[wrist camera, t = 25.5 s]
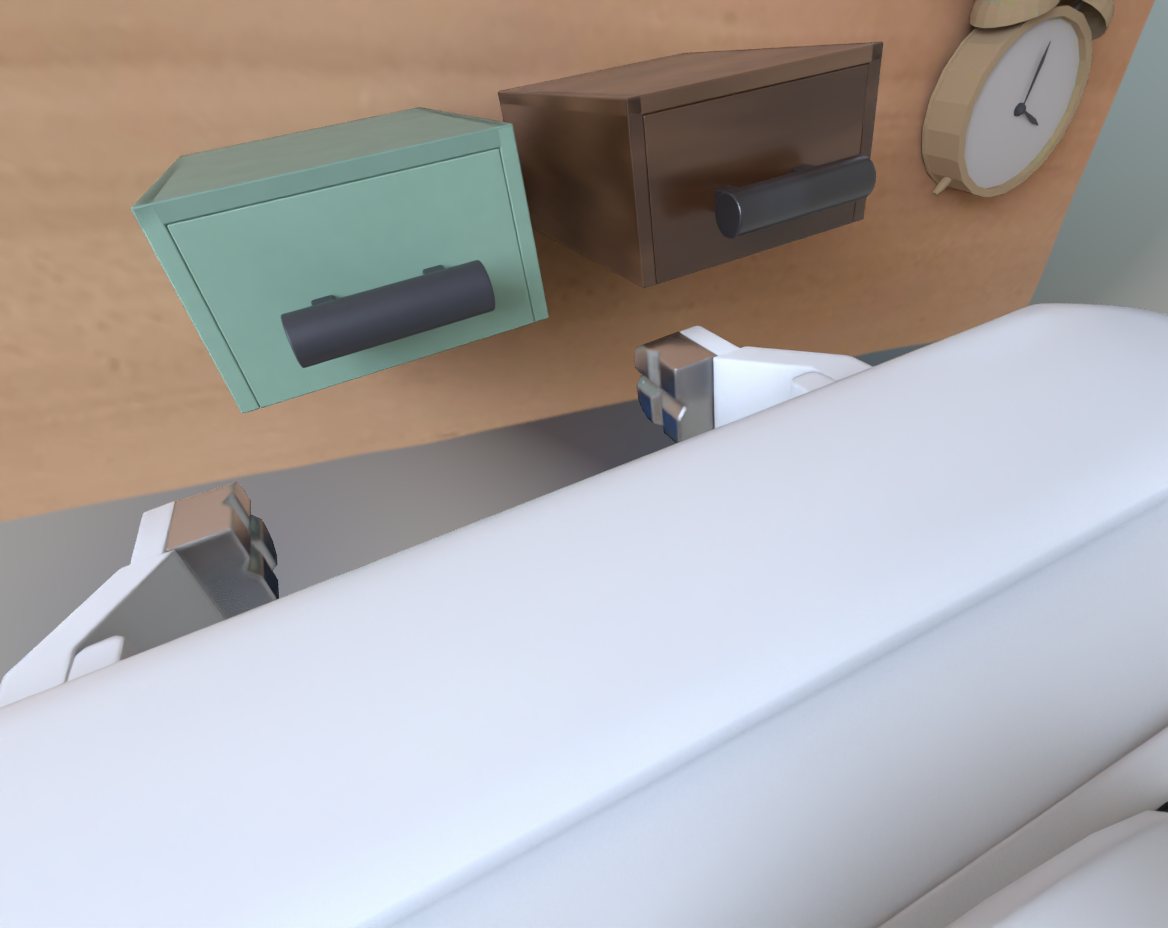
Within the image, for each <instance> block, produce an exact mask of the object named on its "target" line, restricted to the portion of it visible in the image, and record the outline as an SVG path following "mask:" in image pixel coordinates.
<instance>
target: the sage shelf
mask: <svg viewBox="0 0 1168 928" xmlns="http://www.w3.org/2000/svg"><path fill="white" fill-rule="evenodd" d="M131 210H132V212H133V214H134V216H135V218H136V219H137V221H138V223H139V225H140V227H141V228H142V230H143V232H144V234H145V236H146V238H147V239H148V241H149V243H150V245H151V247H152V249H153V250H154V252H155V254H156V256H157V258H158V260H159V262H160V263H161V265H162V267H163V269H164V271H165V273H166V274H167V276H168V278H169V280H170V282H171V284H172V286H173V287H174V289H175V291H176V293H177V295H178V297H179V298H180V300H181V302H182V304H183V306H184V308H185V309H186V311H187V313H188V315H189V317H190V319H191V321H192V322H193V324H194V326H195V328H196V330H197V332H198V333H199V335H200V337H201V339H202V341H203V343H204V345H205V346H206V348H207V350H208V352H209V354H210V356H211V357H212V359H213V361H214V363H215V365H216V367H217V368H218V370H219V372H220V374H221V376H222V378H223V380H224V381H225V383H226V385H227V387H228V389H229V391H230V392H231V394H232V396H233V398H234V400H235V402H236V404H237V405H238V407H239V409H240V411H241V412H242V413H247V412H250V411H253V410H256V409H259V408H260V407H261V408H263V407H266V406H270V405H273V404H276V403H279V402H282V401H286V400H289V399H292V398H295V397H298V396H302V395H305V394H308V393H311V392H314V391H317V390H321V389H324V388H327V387H330V386H333V385H337V384H340V383H343V382H346V381H349V380H352V379H356V378H359V377H362V376H365V375H368V374H372V373H375V372H378V371H381V370H384V369H388V368H391V367H394V366H397V365H400V364H403V363H407V362H410V361H413V360H416V359H419V358H423V357H426V356H429V355H432V354H435V353H439V352H442V351H445V350H448V349H451V348H454V347H458V346H461V345H464V344H467V343H470V342H474V341H477V340H480V339H483V338H486V337H489V336H493V335H496V334H499V333H502V332H505V331H509V330H512V329H515V328H518V327H521V326H525V325H528V324H531V323H534V321H535V322H537V321H540V320H543V319H546V318H548V317H549V315H548V309H547V304H546V299H545V293H544V288H543V283H542V277H541V272H540V267H539V261H538V256H537V251H536V245H535V240H534V235H533V229H532V224H531V219H530V214H529V208H528V203H527V198H526V192H525V187H524V182H523V176H522V171H521V166H520V160H519V155H518V150H517V144H516V138H515V133H514V128H513V124H512V123H506V122H501V121H495V120H489V119H483V118H478V117H472V116H466V115H461V114H455V113H449V112H443V111H438V110H432V109H426V108H420V107H419V108H414V109H409V110H404V111H399V112H394V113H390V114H385V115H380V116H375V117H370V118H365V119H360V120H355V121H351V122H346V123H341V124H336V125H331V126H326V127H321V128H316V129H311V130H307V131H302V132H297V133H292V134H287V135H282V136H277V137H272V138H268V139H263V140H258V141H253V142H248V143H243V144H238V145H233V146H228V147H224V148H219V149H214V150H209V151H204V152H199V153H194V154H189V155H185V156H180V157H179V158H178V159H177V160H176V161H175V162H174V163H173V164H172V165H171V166H170V168H169V169H168V170H167V171H166V172H165V173H164V174H163V175H162V176H161V177H160V178H159V179H158V180H157V181H156V182H155V183H154V184H153V185H152V186H151V187H150V188H149V190H148V191H147V192H146V193H145V194H144V195H143V196H142V197H141V198H140V199H139V200H138V201H137V202H136V203H135V204H134V205H133V206H132V207H131Z"/></svg>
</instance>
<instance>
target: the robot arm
mask: <svg viewBox="0 0 1168 928" xmlns="http://www.w3.org/2000/svg"><path fill="white" fill-rule="evenodd" d="M634 364H635V368H636V369H637V370H638V371H639V372H640V373H641V374H642V375H641V377H640V380H639V382H638V384H637V392H638V399H639V402H640V405H641V407H642V410H643V412H644V413H645V415H646V416H647V418H648V419H649V420H651V421H652V422H653V423H655V424H660V425H663V427H664V433H665V434H666V435H667V436H669V437H670V438H671V439H672V440H673V441H674V442H675V443H677V444H674V445H672V446H669V447H666V448H664V449H662V450H659V451H656V452H654V453H651V454H649V455H646V456H643V457H641V458H638V459H636V460H633V461H631V462H628V463H626V464H623V465H620V466H618V467H615V468H613V469H610V470H608V471H605V472H603V473H600V474H597V475H595V476H592V477H590V478H587V479H585V480H582V481H580V482H577V483H574V484H572V485H569V486H567V487H564V488H562V489H559V490H557V491H554V492H551V493H549V494H546V495H544V496H541V497H539V498H536V499H534V500H531V501H528V502H526V503H523V504H521V505H518V506H516V507H513V508H510V509H508V510H505V511H503V512H500V513H498V514H495V515H492V516H490V517H487V518H485V519H482V520H479V521H477V522H474V523H472V524H469V525H467V526H464V527H462V528H459V529H457V530H454V531H451V532H449V533H446V534H444V535H441V536H438V537H436V538H434V539H431V540H428V541H426V542H423V543H420V544H418V545H415V546H413V547H410V548H408V549H405V550H403V551H400V552H397V553H395V554H392V555H390V556H387V557H385V558H382V559H380V560H377V561H374V562H372V563H369V564H367V565H364V566H361V567H359V568H356V569H354V570H351V571H349V572H346V573H344V574H341V575H338V576H336V577H333V578H331V579H328V580H326V581H323V582H320V583H318V584H316V585H313V586H310V587H308V588H305V589H303V590H300V591H297V592H295V593H292V594H290V595H287V596H284V597H282V598H279V592H278V580H277V578H276V576H275V574H274V573H273V570H274V569H275V567H276V566H277V554H276V551H275V548H274V544H273V541H272V539H271V537H270V534H269V532H268V530H267V528H266V526H265V524H264V522H263V521H262V519H260V518H258V517H256V516H253V515H251V500H250V499H249V497H248V496H247V494H246V492H245V491H244V489H243V488H242V486H240V485H239V484H238V483H237V482H234V483H231V484H228V485H225V486H222V487H219V488H216V489H212V490H209V491H206V492H203V493H200V494H197V495H194V496H190V497H187V498H185V499H181V500H178V501H173V502H170V503H168V504H165V505H162V506H159V507H157V508H154V509H151V510H149V511H146V512H144V513H143V516H142V520H141V524H140V528H139V531H138V536H137V539H136V543H135V547H134V551H133V555H132V559H131V563H130V565H129V566H126V567H123V568H120V569H119V570H118V571H117V572H116V573H115V574H114V575H113V576H112V577H111V578H110V579H108V580H107V581H106V582H105V583H104V584H103V585H102V586H101V587H100V588H99V589H98V590H97V591H95V592H94V593H93V594H92V595H91V596H90V597H89V598H88V599H87V600H86V601H85V602H84V603H82V604H81V605H80V606H79V607H78V608H77V609H76V610H75V611H74V612H73V613H72V614H71V615H69V616H68V617H67V618H66V619H65V620H64V621H63V622H62V623H61V624H60V625H59V626H58V627H57V628H55V629H54V630H53V631H52V632H51V633H50V634H49V635H48V636H47V637H46V638H45V639H44V640H42V642H40V643H39V644H38V645H37V646H36V647H35V648H34V649H33V650H32V651H31V652H30V653H28V654H27V655H26V656H25V657H24V658H23V659H22V660H21V661H20V662H19V663H18V664H16V665H15V666H14V667H13V668H12V669H11V670H10V671H9V672H8V673H7V674H6V675H5V676H4V678H3V681H2V683H1V685H0V928H1168V315H1167V314H1163V313H1159V312H1155V311H1151V310H1146V309H1140V308H1132V307H1124V306H1113V305H1097V304H1069V303H1067V304H1066V303H1046V304H1045V303H1044V304H1036V305H1031V306H1027V307H1024V308H1021V309H1018V310H1016V311H1013V312H1011V313H1008V314H1006V315H1003V316H1001V317H998V318H996V319H994V320H991V321H989V322H986V323H984V324H981V325H979V326H976V327H973V328H971V329H968V330H966V331H963V332H961V333H958V334H956V335H953V336H950V337H948V338H945V339H943V340H940V341H938V342H935V343H932V344H930V345H927V346H925V347H922V348H920V349H917V350H914V351H912V352H909V353H907V354H904V355H902V356H899V357H897V358H894V359H891V360H889V361H886V362H884V363H881V364H879V365H876V366H874V367H873V366H871V365H869V364H867V363H864V362H862V361H860V360H858V359H856V358H854V357H852V356H850V355H840V354H828V353H817V352H806V351H794V350H783V349H771V348H760V347H749V346H745V347H742V348H738V347H737V346H735V345H733V344H731V343H730V342H728V341H726V340H724V339H723V338H721V337H719V336H717V335H715V334H714V333H712V332H710V331H708V330H707V329H705V328H703V327H701V326H693V327H690V328H688V329H685V330H683V331H680V332H676V333H674V334H671V335H668V336H665V337H663V338H660V339H657V340H654V341H652V342H649V343H646V344H644V345H641V346H639V347H637V348H635V352H634Z"/></svg>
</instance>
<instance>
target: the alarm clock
mask: <svg viewBox="0 0 1168 928" xmlns="http://www.w3.org/2000/svg"><path fill="white" fill-rule="evenodd" d="M1113 13H1114V4H1113V0H976V1H975V3H974V5H973V7H972V10H971V13H970V24H971V25H972V26H974V27H976V28H975V29H974V30H973V31H972V32H971V33H970V34H969V35H968V36H967V37H966V38H965V39H964V40H963V41H962V42H961V43H960V45H959V47H958V48H957V50H956V51H955V53H954V54H953V56H952V57H951V59H950V60H949V62H948V63H947V65H946V66H945V68H944V69H943V71H942V73H941V76H940V78H939V80H938V82H937V85H936V87H935V89H934V91H933V94H932V96H931V98H930V101H929V105H928V109H927V113H926V117H925V121H924V125H923V135H922V156H923V159H924V163H925V166H926V170H927V173H928V174H929V175H930V176H931V178H932V179H933V180H934V181H935V182H936V183H937V184H938V185H937V186H936V188H935V189H934V191H933V194H934V195H936V196H937V195H938V194H939V193H941V192H942V191H943V190H944V189H945V188H946V187H949V188H952V189H960V190H963V191H967V192H969V193H971V194H975V195H979V196H983V197H986V198H989V197H993V196H997V195H1002V194H1005V193H1007V192H1008V191H1010V190H1011V189H1013V188H1015V187H1016V186H1018V185H1020V184H1021V183H1023V182H1024V181H1025V180H1026V179H1027V178H1028V177H1029V176H1031V175H1032V174H1033V173H1034V172H1035V171H1036V170H1037V169H1038V168H1039V167H1040V166H1041V165H1042V164H1043V163H1044V162H1045V160H1046V159H1047V158H1048V156H1049V155H1050V154H1051V152H1052V151H1053V150H1054V148H1055V147H1056V146H1057V144H1058V143H1059V142H1060V140H1061V139H1062V137H1063V135H1064V133H1065V132H1066V130H1067V128H1068V126H1069V124H1070V123H1071V121H1072V119H1073V117H1074V115H1075V114H1076V112H1077V109H1078V106H1079V104H1080V101H1081V98H1082V96H1083V93H1084V90H1085V88H1086V85H1087V81H1088V76H1089V71H1090V66H1091V61H1092V40H1094V39H1097V38H1099V37H1100V36H1101V35H1103V34H1104V33H1105V31H1106V30H1107V28H1108V26H1109V24H1110V22H1111V19H1112V17H1113Z"/></svg>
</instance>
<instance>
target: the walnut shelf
mask: <svg viewBox="0 0 1168 928" xmlns="http://www.w3.org/2000/svg"><path fill="white" fill-rule="evenodd" d="M882 49H883V43H882V42H871V43H853V44H836V45H818V46H801V47H783V48H766V49H748V50H731V51H713V52H696V53H682V54H678V55H673V56H668V57H663V58H658V59H653V60H648V61H643V62H639V63H634V64H629V65H624V66H619V67H614V68H609V69H604V70H600V71H595V72H590V73H585V74H580V75H575V76H570V77H565V78H560V79H556V80H551V81H546V82H541V83H536V84H531V85H526V86H521V87H517V88H512V89H507V90H502V91H499V92H498V95H499V100H500V105H501V110H502V115H503V120H504V122H506V123H512V124H513V128H514V133H515V138H516V144H517V150H518V155H519V160H520V166H521V171H522V176H523V182H524V187H525V192H526V198H527V203H528V208H529V214H530V219H531V224H532V228H533V229H535V230H537V231H539V232H541V233H543V234H544V235H546V236H548V237H550V238H552V239H554V240H555V241H557V242H559V243H561V244H563V245H565V246H567V247H568V248H570V249H572V250H574V251H576V252H578V253H580V254H581V255H583V256H585V257H587V258H589V259H591V260H593V261H594V262H596V263H598V264H600V265H602V266H604V267H605V268H607V269H609V270H611V271H613V272H615V273H617V274H618V275H620V276H622V277H624V278H626V279H628V280H630V281H631V282H633V283H635V284H637V285H639V286H641V287H643V288H646V287H649V286H652V285H655V284H659V283H662V282H665V281H668V280H671V279H675V278H678V277H681V276H684V275H687V274H691V273H694V272H697V271H700V270H703V269H706V268H710V267H713V266H716V265H719V264H722V263H726V262H729V261H732V260H735V259H738V258H742V257H745V256H748V255H751V254H754V253H757V252H761V251H764V250H767V249H770V248H773V247H777V246H780V245H783V244H786V243H789V242H792V241H796V240H799V239H802V238H805V237H808V236H812V235H815V234H818V233H821V232H824V231H828V230H831V229H834V228H837V227H840V226H843V225H847V224H850V223H852V222H856V221H859V220H862V219H863V218H864V209H865V201H866V197H867V196H868V195H869V194H870V193H871V192H872V190H873V188H874V185H875V180H876V172H875V167H874V165H873V163H872V161H871V160H870V156H871V147H872V138H873V129H874V120H875V111H876V102H877V93H878V84H879V75H880V66H881V57H882Z"/></svg>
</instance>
